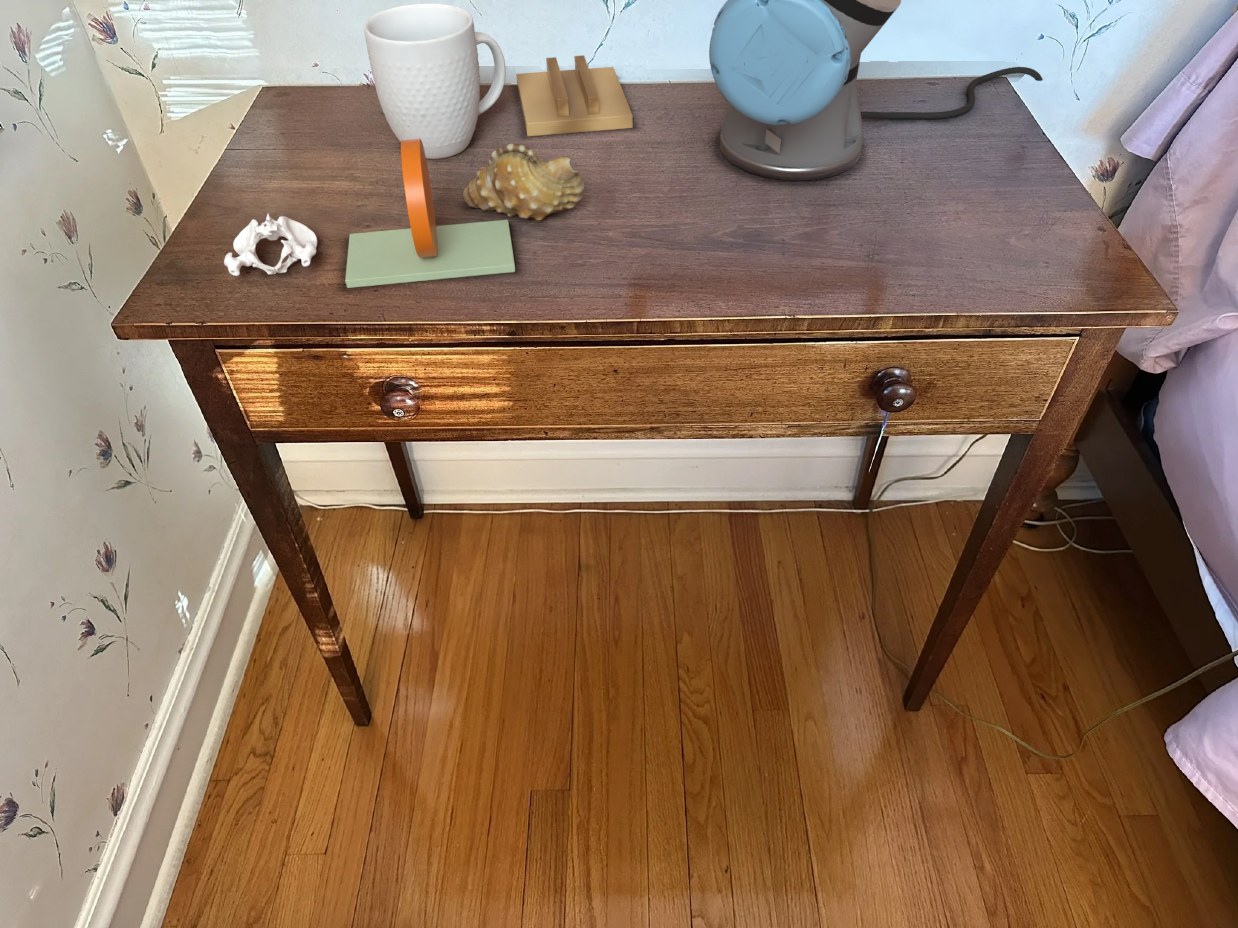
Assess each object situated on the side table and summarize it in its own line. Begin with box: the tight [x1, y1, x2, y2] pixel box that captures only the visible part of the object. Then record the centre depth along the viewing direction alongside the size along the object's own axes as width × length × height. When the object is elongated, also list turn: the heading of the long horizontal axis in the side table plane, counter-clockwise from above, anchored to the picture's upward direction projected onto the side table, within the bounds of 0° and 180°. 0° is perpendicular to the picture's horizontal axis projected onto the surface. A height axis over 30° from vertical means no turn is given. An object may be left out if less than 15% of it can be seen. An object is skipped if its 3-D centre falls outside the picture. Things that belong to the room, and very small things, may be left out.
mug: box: [363, 2, 507, 160], centre depth 95 cm, size 15×11×13 cm
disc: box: [400, 139, 438, 258], centre depth 79 cm, size 2×10×10 cm, turn 9°
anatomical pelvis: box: [223, 213, 318, 277], centre depth 81 cm, size 8×4×7 cm
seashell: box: [462, 143, 585, 221], centre depth 86 cm, size 9×8×10 cm
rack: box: [515, 55, 634, 137], centre depth 105 cm, size 12×14×4 cm
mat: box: [344, 219, 516, 289], centre depth 83 cm, size 15×8×1 cm, turn 99°
